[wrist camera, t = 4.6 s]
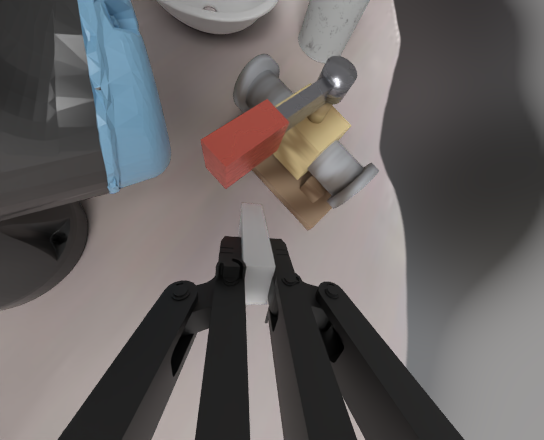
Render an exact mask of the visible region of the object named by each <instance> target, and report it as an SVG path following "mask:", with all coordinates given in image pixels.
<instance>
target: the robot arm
mask: <svg viewBox="0 0 544 440" xmlns="http://www.w3.org/2000/svg"><path fill="white" fill-rule="evenodd" d="M170 159H171V148H170V142H169V137H168V132H167V128H166V123H165V119H164V115H163V111H162V107H161V103H160V99H159V95H158V91H157V87H156V84H155V80H154V76H153V72H152V69H151V65H150V62H149V58H148V55H147V51H146V48H145V44H144V41H143V39H142V36H141V35H140V33H139V26H138V22H137V18H136V15H135V12H134V9H133V6H132V3H131V0H0V311H1V310H5V309H9V308H13V307H16V306H19V305H22V304H24V303H27V302H29V301H31V300H33V299H35V298H37V297H39V296H41V295H42V294H44V293H46V292H47V291H49V290H50V289H51V288H53V287H54V286H55V285H57V284H58V283H59V282H60V281H61V280H62V279H63V278H64V277H65V276H66V275H67V274H68V273H69V272H70V271H71V270H72V268H73V267H74V266H75V264H76V263H77V261H78V260H79V258H80V256H81V254H82V252H83V249H84V247H85V243H86V239H87V231H88V226H87V219H86V215H85V212H84V210H83V208H82V206H81V204H80V203H79V201H80V200H84V199H88V198H92V197H95V196H99V195H103V194H107V193H111V194H113V193H116V192H118V191H120V189H121V188H123V187H126V186H129V185H132V184H135V183H138V182H141V181H144V180H148V179H151V178H154V177H156V176H158V175H159V174H161V173H162V172H163V171H164V170H165V169H166V168H167V166H168V165H169V162H170ZM267 300H268V302H269V308H268V312H267V316H266V320H265V323H267V322H268V321H269V329H270V336H271V344H272V352H273V359H274V367H275V375H276V382H277V390H278V398H279V405H280V413H281V421H282V428H283V436H284V440H357V438H356V435H355V432H354V429H353V426H352V423H351V421H350V418H349V415H348V412H347V409H346V406H345V403H344V400H345V402H346V404H347V406H348V408H349V410H350V411H351V413H352V415H353V417H354V419H355V421H356V423H357V425H358V426H359V428H360V430H361V432H362V434H363V436H364V438H365V440H464V439H463V437H462V436H461V435H460V434H459V432H458V431H457V430H456V429H455V428H454V426H453V425H452V424H451V423H450V422H449V420H448V419H447V418H446V416H445V415H444V414H443V413H442V412H441V410H439V408H438V407H437V406H436V404H435V403H434V402H433V400H432V399H431V398H430V397H429V396H428V395H427V393H426V392H425V391H424V390H423V388H422V387H421V386H420V384H419V383H418V382H417V381H416V380H415V378H414V377H413V376H412V375H411V373H410V372H409V371H408V370H407V368H406V367H405V366H404V365H403V364H402V362H401V361H400V360H399V359H398V357H397V356H396V355H395V354H394V352H393V351H392V350H391V349H390V348H389V346H388V345H387V344H386V343H385V341H384V340H383V339H382V338H381V336H380V335H379V334H378V333H377V332H376V330H375V329H374V328H373V327H372V325H371V324H370V323H369V322H368V320H367V319H366V318H365V317H364V316H363V314H362V313H361V312H360V311H359V309H358V308H357V307H356V306H355V304H354V303H353V302H352V301H351V299H350V298H349V297H348V296H347V295H346V293H345V292H344V291H343V290H342V289H341V288H340V287H339V286H338V285H336V284H334V283H332V282H323V283H321V284H320V285H319V287H317V286H313V285H310V284H307V283H304V282H303V281H302V280H301V278H300V276H298V275H297V274H296V273H295V272H294V269H293V266H292V263H291V260H290V257H289V254H288V251H287V247H286V244H285V243H284V242H283V241H282V240H281V239H272V238H269V234H268V230H267V225H266V221H265V216H264V212H263V207H262V204H252V203H242V206H241V215H240V224H239V237H229V236H225V237H224V238H223V239H222V241H221V245H220V253H219V261H218V263H217V265H216V275H215V277H214V278H213V279H212V280H210V281H209V282H207V283H204V284H200V285H195V284H194V283H192V282H190V281H178V282H174V283H173V284H171V285H169V286H168V287H167V288H166V289H165V290H164V292H163V293H162V294H161V296H160V297H159V299H158V300H157V301H156V303H155V304H154V305H153V307H152V308H151V310H150V311H149V312H148V314H147V315H146V317H145V318H144V319H143V321H142V322H141V324H140V325H139V326H138V328H137V329H136V331H135V332H134V333H133V335H132V336H131V338H130V339H129V340H128V342H127V343H126V345H125V346H124V347H123V349H122V350H121V352H120V353H119V354H118V356H117V357H116V359H115V360H114V361H113V363H112V364H111V366H110V367H109V368H108V370H107V371H106V373H105V374H104V375H103V377H102V378H101V380H100V381H99V382H98V384H97V385H96V387H95V388H94V389H93V391H92V392H91V394H90V395H89V396H88V398H87V399H86V401H85V402H84V403H83V405H82V406H81V408H80V409H79V410H78V412H77V413H76V415H75V416H74V417H73V419H72V420H71V422H70V423H69V424H68V426H67V427H66V429H65V430H64V431H63V433H62V434H61V436H60V437H59V438H58V440H151V439H152V437H153V435H154V432H155V430H156V428H157V425H158V423H159V421H160V418H161V416H162V414H163V411H164V409H165V407H166V404H167V402H168V400H169V397H170V395H171V393H172V390H173V388H174V386H175V383H176V381H177V379H178V376H179V374H180V372H181V369H182V367H183V365H184V362H185V360H186V358H187V356H188V353H189V351H190V349H191V346H192V344H193V342H194V339H195V337H196V335H197V332H200V331H202V330H205V329H208V328H209V334H208V342H207V349H206V357H205V365H204V373H203V381H202V389H201V397H200V404H199V412H198V420H197V428H196V436H195V440H250V423H249V394H248V365H247V336H246V307H245V305H251V304H267ZM342 396H343V397H342ZM343 398H344V400H343Z"/></svg>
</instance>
